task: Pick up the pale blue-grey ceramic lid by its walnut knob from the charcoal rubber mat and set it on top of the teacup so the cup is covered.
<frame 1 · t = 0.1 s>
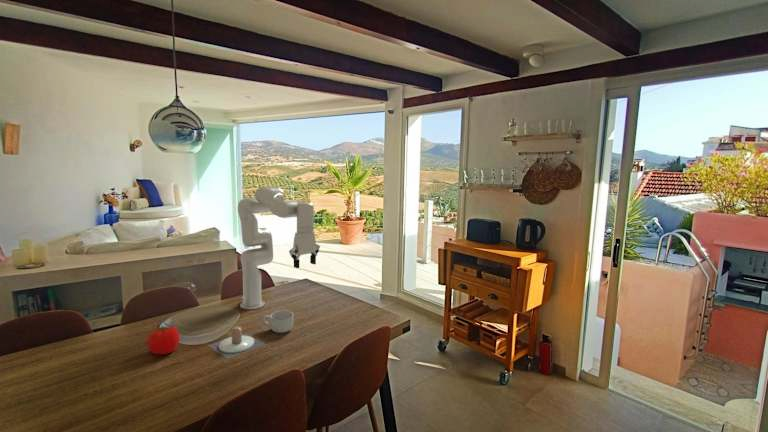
hand: (305, 265, 170), 31 cm above the table, tool pointing down, fingers open, 9 cm apart
teacup: (278, 330, 172), on the table
lid: (236, 345, 156), resting on mat
tomato: (164, 352, 149), on the table
mat: (236, 346, 156), on the table
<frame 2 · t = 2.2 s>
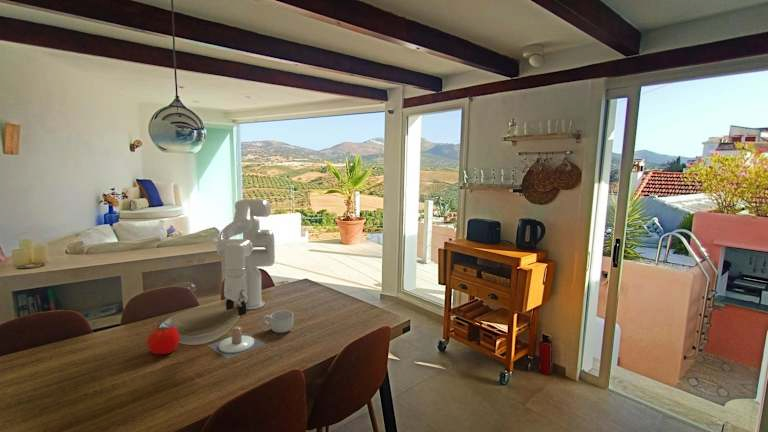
hand: (236, 311, 154), 15 cm above the table, tool pointing down, fingers open, 9 cm apart
nothing on the table moved.
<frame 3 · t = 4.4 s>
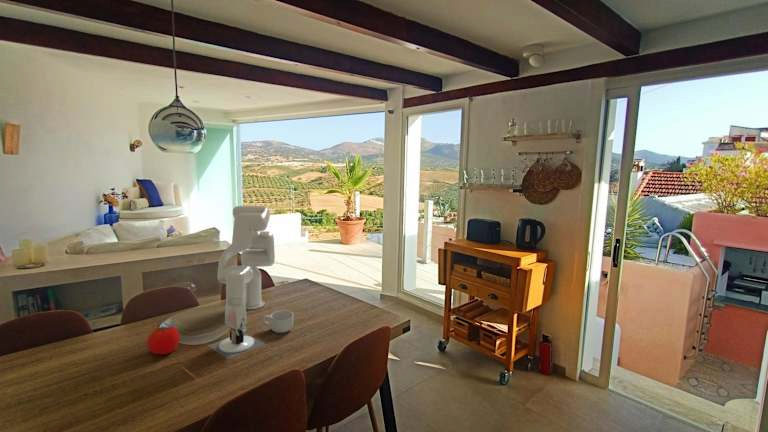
hand: (236, 340, 156), 2 cm above the table, tool pointing down, fingers closed on lid, 4 cm apart
lid: (236, 345, 156), resting on mat, touching gripper
everything else where it was.
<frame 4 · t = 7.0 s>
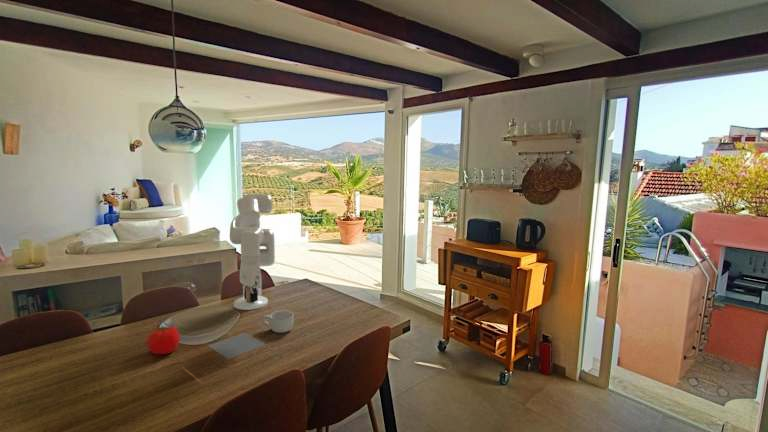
hand: (251, 299, 159), 19 cm above the table, tool pointing down, fingers closed on lid, 4 cm apart
lid: (251, 303, 159), point 17 cm above the table, touching gripper
everything else where it was.
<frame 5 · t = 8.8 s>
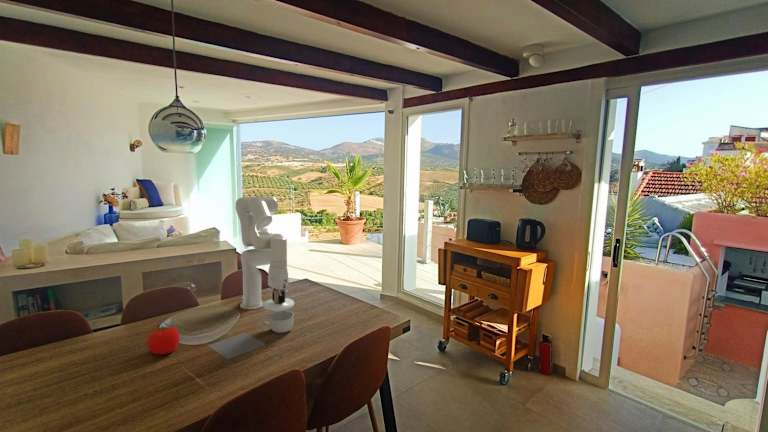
hand: (278, 301, 170), 14 cm above the table, tool pointing down, fingers closed on lid, 4 cm apart
lid: (278, 305, 171), point 12 cm above the table, touching gripper
everything else where it was.
when the fingers open (11 cm above the table, at t = 10.0 s): lid drops 1 cm, resting on teacup.
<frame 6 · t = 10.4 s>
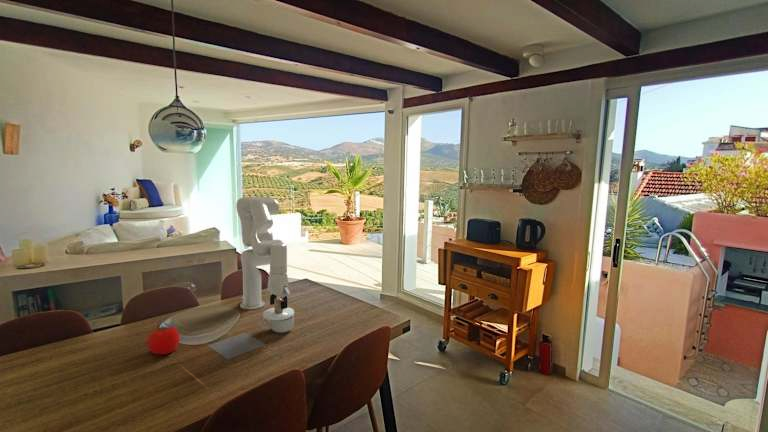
hand: (278, 306, 171), 12 cm above the table, tool pointing down, fingers open, 7 cm apart
teacup: (279, 330, 172), on the table, touching lid
lid: (278, 314, 171), point 8 cm above the table, touching teacup
everything else where it was.
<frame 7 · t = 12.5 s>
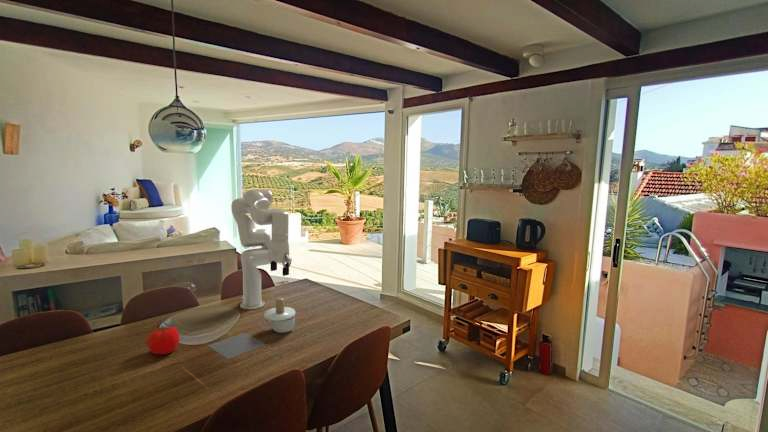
hand: (279, 272, 173), 27 cm above the table, tool pointing down, fingers open, 9 cm apart
nothing on the table moved.
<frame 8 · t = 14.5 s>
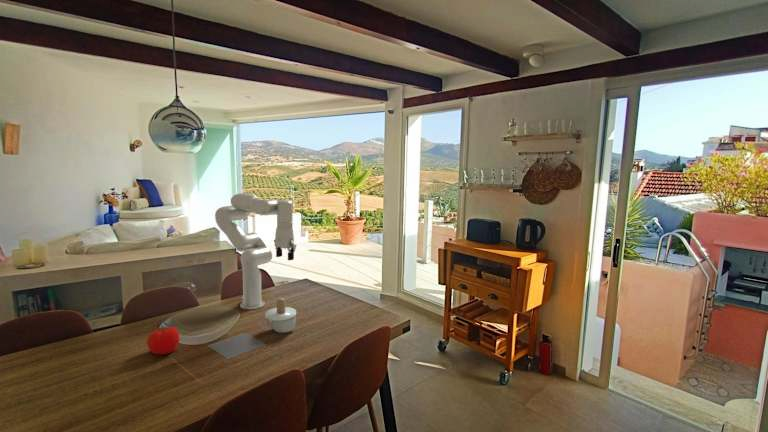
hand: (284, 258, 187), 30 cm above the table, tool pointing down, fingers open, 9 cm apart
at the end: lid 0.3 cm off-centre on the teacup, point 8.2 cm above the teacup's base; lid tilted 0°; the gripper is holding nothing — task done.
